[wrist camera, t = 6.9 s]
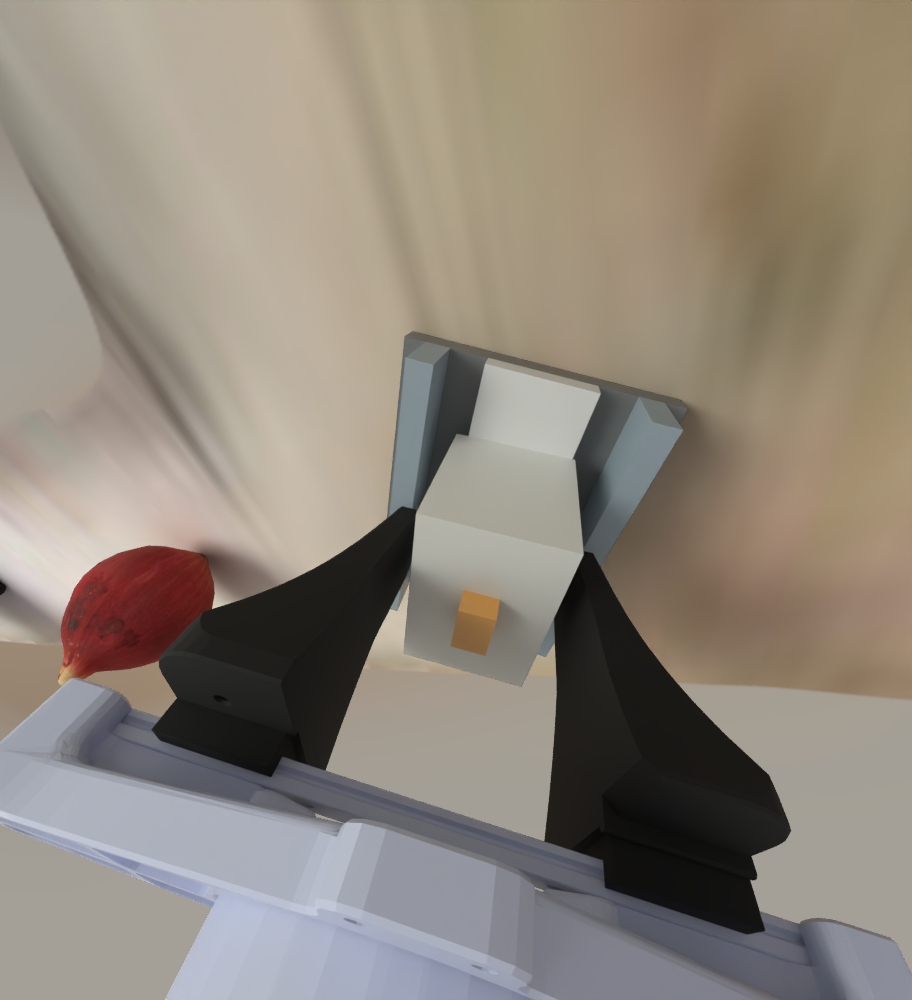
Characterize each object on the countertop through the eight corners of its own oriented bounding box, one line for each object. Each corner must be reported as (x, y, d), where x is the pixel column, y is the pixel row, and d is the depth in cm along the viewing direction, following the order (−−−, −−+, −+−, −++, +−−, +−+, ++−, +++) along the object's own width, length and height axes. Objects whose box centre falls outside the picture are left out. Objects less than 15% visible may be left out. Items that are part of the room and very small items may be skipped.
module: (575, 459, 12) (585, 576, 8) (529, 582, 16) (520, 708, 12) (456, 433, 13) (406, 531, 8) (438, 559, 16) (396, 672, 12)
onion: (138, 510, 21) (-43, 626, 15) (226, 525, 20) (74, 656, 14) (179, 581, 25) (46, 701, 18) (257, 597, 24) (146, 729, 17)
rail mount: (681, 400, 12) (710, 437, 10) (560, 610, 18) (561, 661, 16) (412, 331, 13) (381, 351, 10) (387, 558, 19) (365, 601, 17)
